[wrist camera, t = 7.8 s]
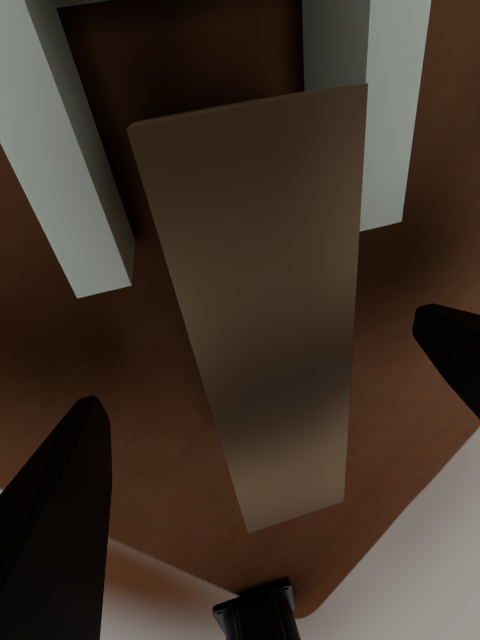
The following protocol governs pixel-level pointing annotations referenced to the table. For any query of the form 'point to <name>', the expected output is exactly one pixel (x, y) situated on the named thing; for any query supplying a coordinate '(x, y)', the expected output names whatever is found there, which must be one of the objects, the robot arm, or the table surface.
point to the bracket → (89, 156)
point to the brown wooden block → (266, 279)
